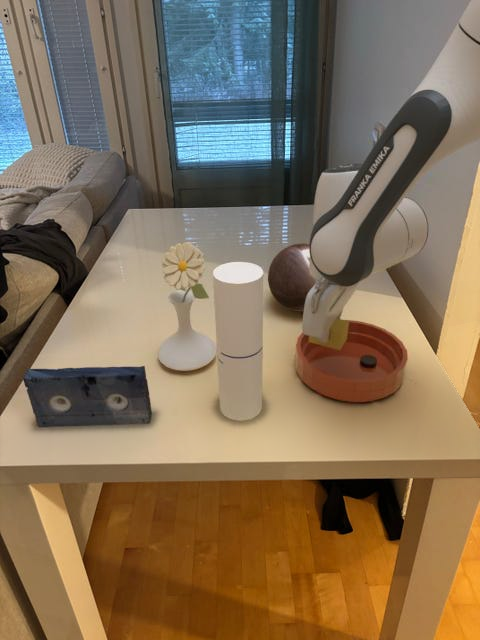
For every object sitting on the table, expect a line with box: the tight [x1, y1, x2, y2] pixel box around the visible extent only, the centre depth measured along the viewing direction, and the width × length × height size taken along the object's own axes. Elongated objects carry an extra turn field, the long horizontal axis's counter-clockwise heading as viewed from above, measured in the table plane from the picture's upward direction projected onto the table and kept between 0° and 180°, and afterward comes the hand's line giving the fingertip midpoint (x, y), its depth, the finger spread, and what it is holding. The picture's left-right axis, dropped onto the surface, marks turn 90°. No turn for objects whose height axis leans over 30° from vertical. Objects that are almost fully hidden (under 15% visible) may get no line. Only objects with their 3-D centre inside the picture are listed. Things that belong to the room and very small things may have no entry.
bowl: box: [294, 319, 409, 403], centre depth 86 cm, size 20×20×5 cm
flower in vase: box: [157, 241, 217, 372], centre depth 84 cm, size 13×11×25 cm
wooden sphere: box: [267, 243, 317, 312], centre depth 104 cm, size 15×15×15 cm
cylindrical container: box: [212, 261, 264, 422], centre depth 72 cm, size 7×7×25 cm
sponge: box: [309, 318, 349, 350], centre depth 85 cm, size 6×4×4 cm, turn 62°
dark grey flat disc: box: [360, 355, 377, 368], centre depth 87 cm, size 3×3×1 cm
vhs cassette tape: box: [22, 365, 153, 428], centre depth 74 cm, size 18×3×10 cm, turn 90°
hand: (328, 333), depth 85 cm, fingers closed on sponge, 4 cm apart
